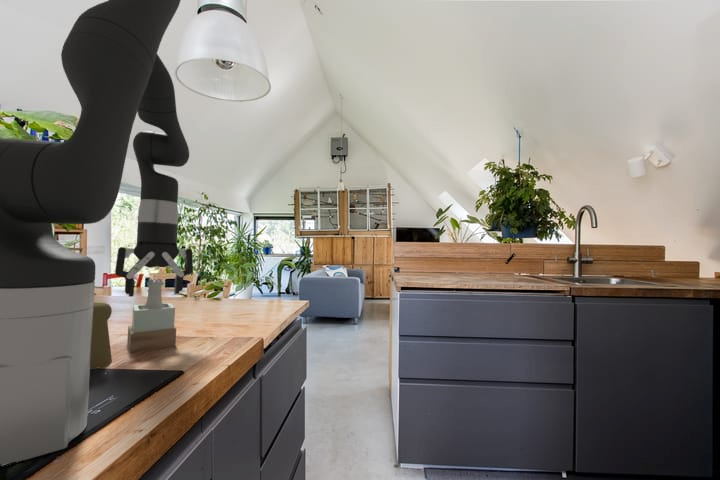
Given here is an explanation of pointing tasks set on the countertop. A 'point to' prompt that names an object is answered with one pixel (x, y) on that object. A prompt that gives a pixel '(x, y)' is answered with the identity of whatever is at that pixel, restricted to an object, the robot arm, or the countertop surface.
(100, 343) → the olive tapered piece
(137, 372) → the countertop surface
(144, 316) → the sage top block
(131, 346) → the walnut base block
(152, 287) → the rook chess piece
